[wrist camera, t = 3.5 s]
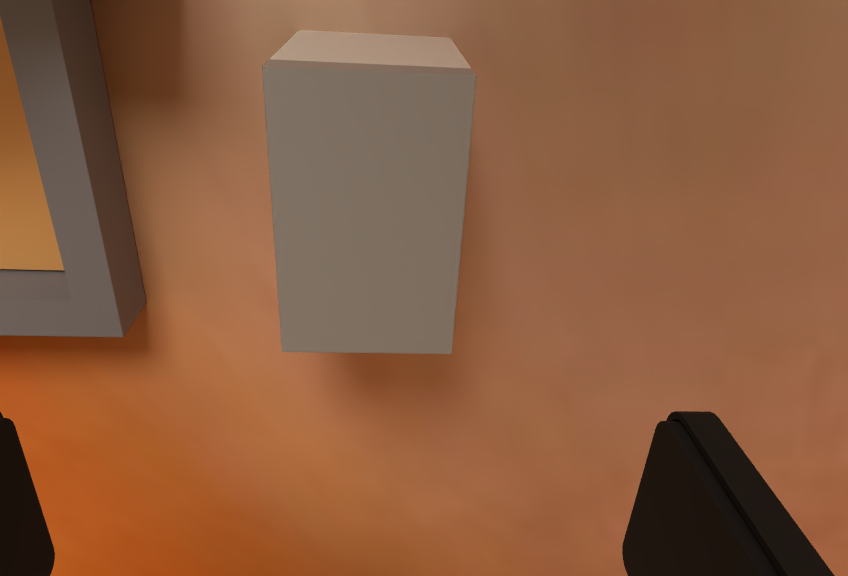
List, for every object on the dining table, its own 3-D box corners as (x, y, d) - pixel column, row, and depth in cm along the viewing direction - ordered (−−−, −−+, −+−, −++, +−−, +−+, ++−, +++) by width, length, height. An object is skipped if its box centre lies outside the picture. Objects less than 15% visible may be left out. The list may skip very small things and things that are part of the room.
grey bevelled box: (449, 37, 21) (476, 75, 15) (435, 252, 25) (451, 353, 19) (298, 29, 21) (262, 66, 14) (308, 249, 24) (282, 352, 18)
